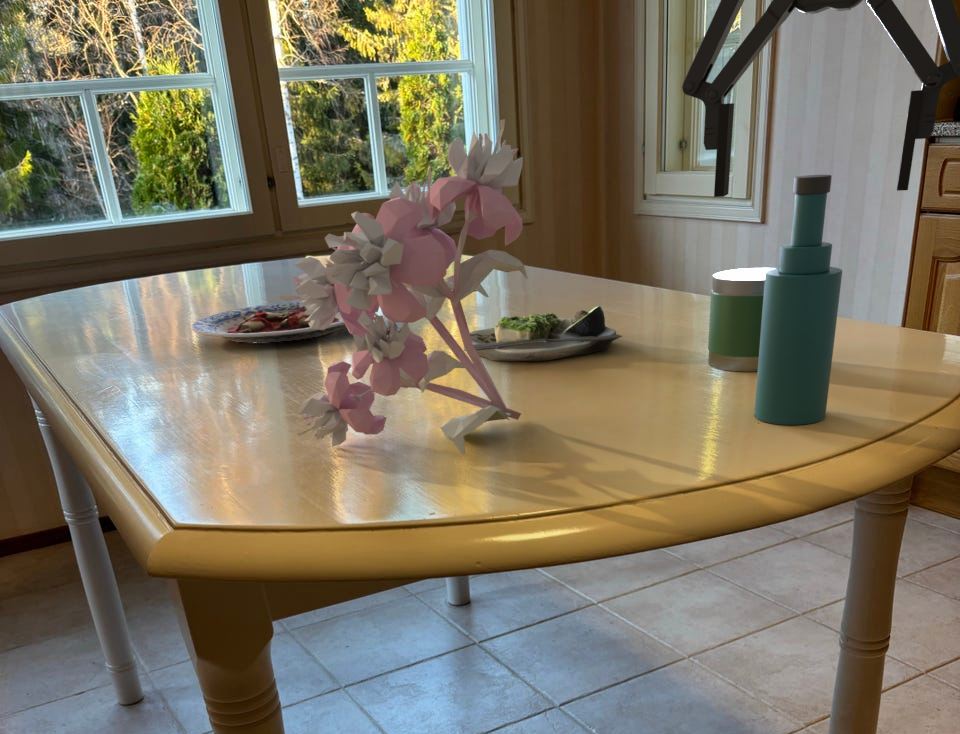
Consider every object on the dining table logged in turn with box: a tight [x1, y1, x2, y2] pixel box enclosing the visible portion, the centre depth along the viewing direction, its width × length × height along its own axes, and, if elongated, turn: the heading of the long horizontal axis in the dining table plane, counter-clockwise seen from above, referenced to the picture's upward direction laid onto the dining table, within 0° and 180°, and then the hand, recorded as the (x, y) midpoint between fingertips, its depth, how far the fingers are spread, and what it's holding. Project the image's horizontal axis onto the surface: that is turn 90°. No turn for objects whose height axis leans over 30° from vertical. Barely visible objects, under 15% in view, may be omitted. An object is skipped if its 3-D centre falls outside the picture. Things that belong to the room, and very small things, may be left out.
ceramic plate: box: [190, 300, 346, 344], centre depth 134 cm, size 26×26×3 cm
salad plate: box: [461, 305, 623, 362], centre depth 111 cm, size 19×18×5 cm
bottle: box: [753, 174, 843, 426], centre depth 77 cm, size 6×6×19 cm
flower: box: [277, 118, 528, 455], centre depth 79 cm, size 20×22×25 cm
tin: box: [707, 267, 777, 373], centre depth 98 cm, size 9×9×9 cm
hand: (808, 193), depth 73 cm, fingers open, 13 cm apart
